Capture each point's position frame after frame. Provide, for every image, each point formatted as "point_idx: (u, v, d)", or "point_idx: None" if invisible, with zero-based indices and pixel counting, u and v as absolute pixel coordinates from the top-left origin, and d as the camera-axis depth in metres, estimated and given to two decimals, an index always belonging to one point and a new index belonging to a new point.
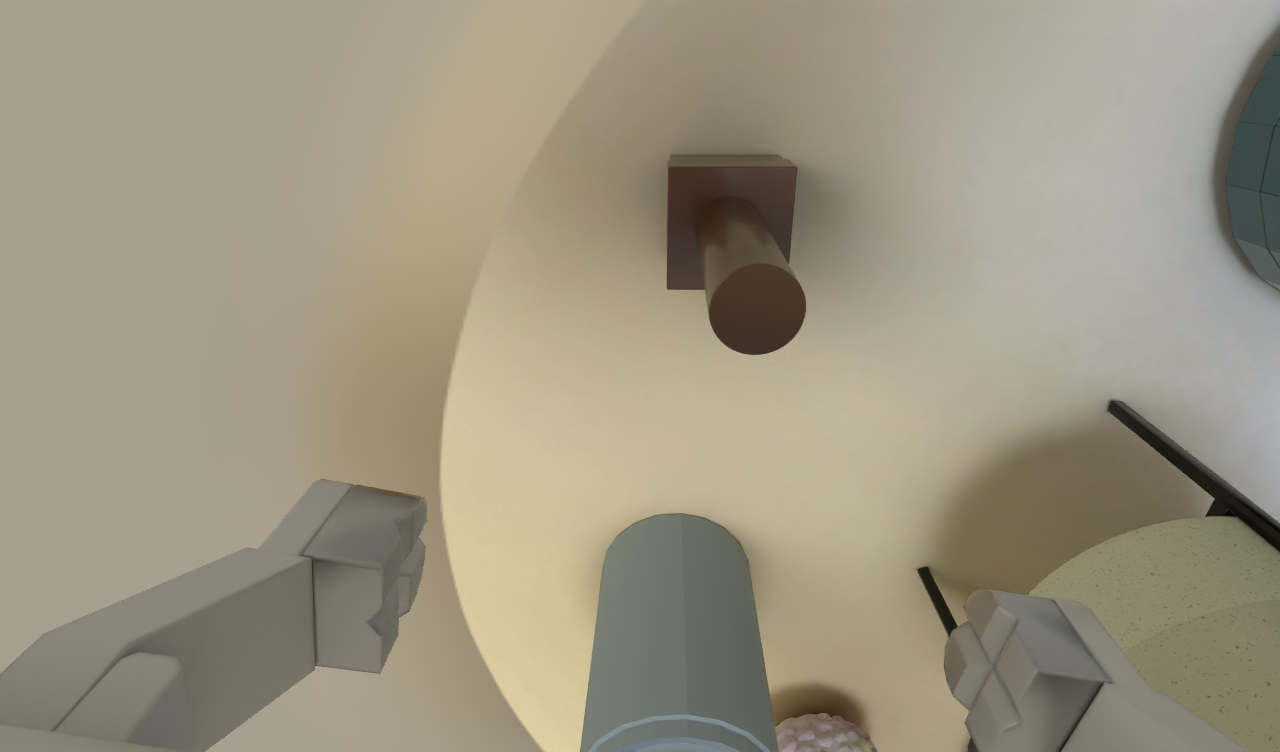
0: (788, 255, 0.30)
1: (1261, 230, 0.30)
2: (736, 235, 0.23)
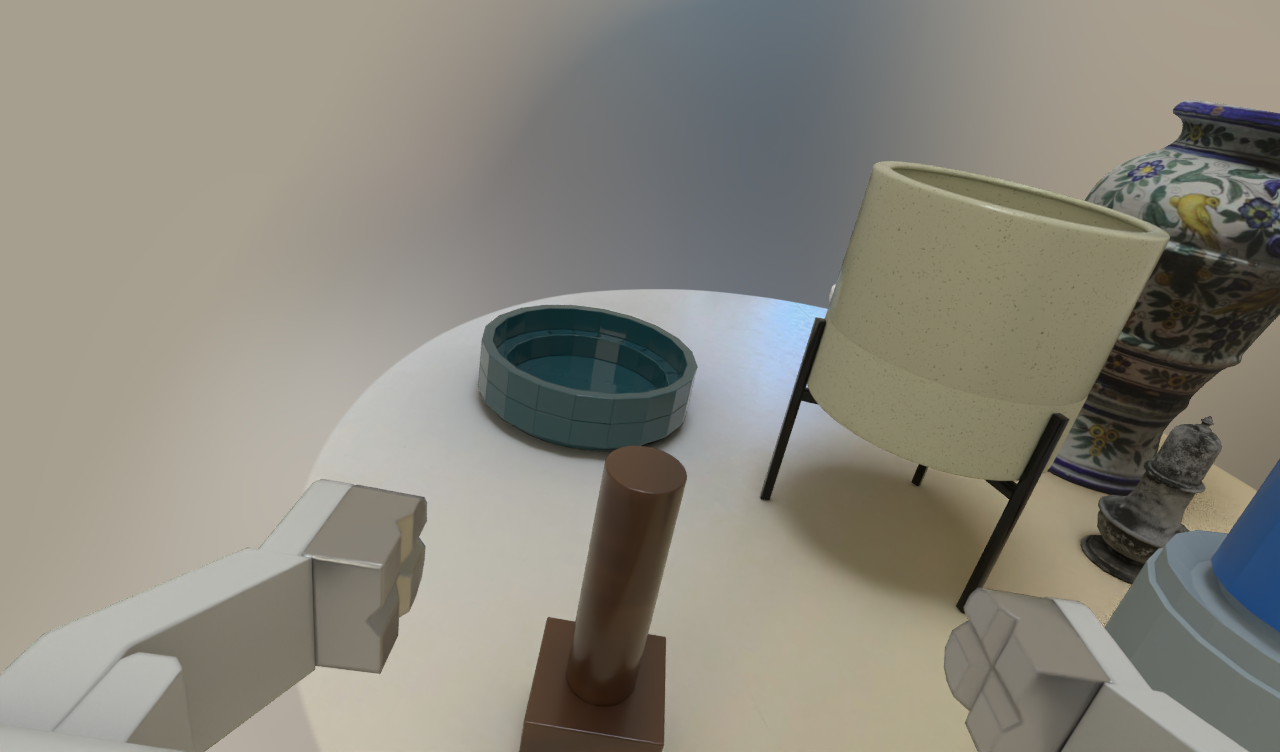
0: None
1: (633, 425, 0.49)
2: (590, 549, 0.25)
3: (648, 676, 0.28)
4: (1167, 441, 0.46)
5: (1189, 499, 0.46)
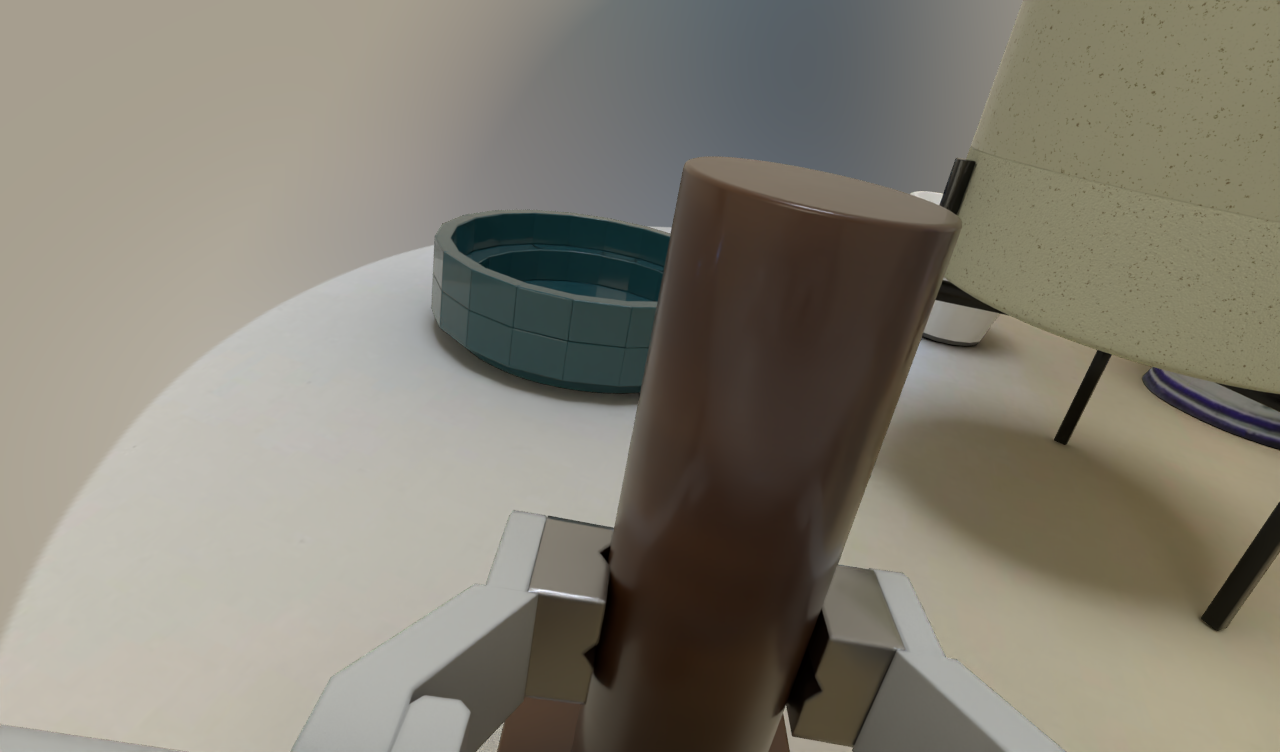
0: None
1: None
2: (630, 473, 0.08)
3: None
4: None
5: None
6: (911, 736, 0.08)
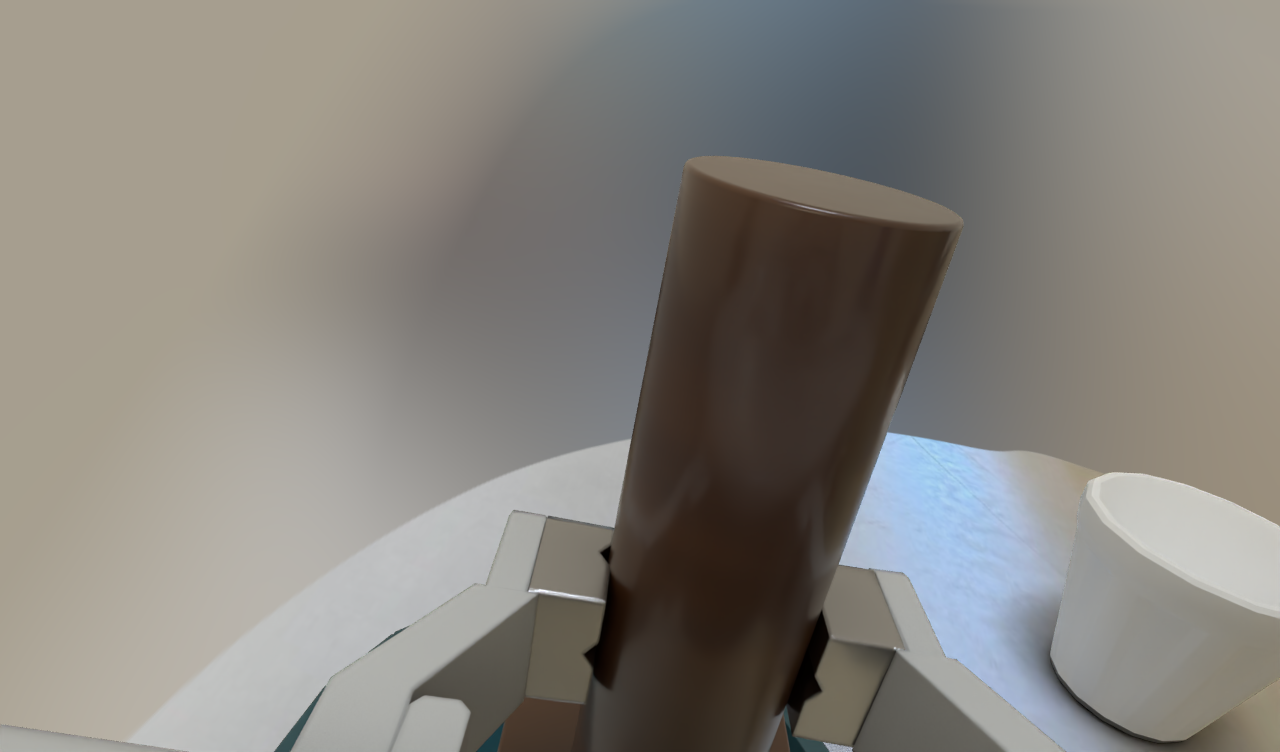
0: None
1: None
2: (630, 473, 0.08)
3: None
4: None
5: None
6: (911, 736, 0.08)
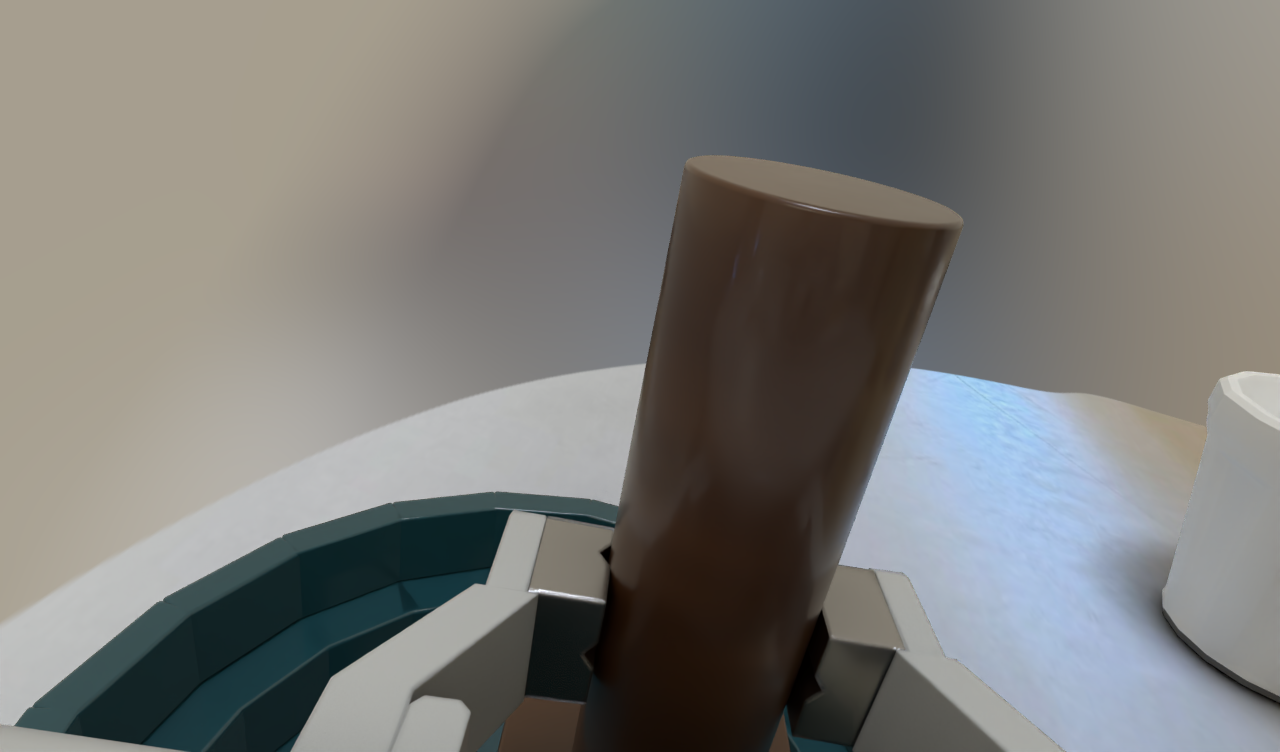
0: None
1: None
2: (630, 472, 0.08)
3: None
4: None
5: None
6: (911, 736, 0.08)
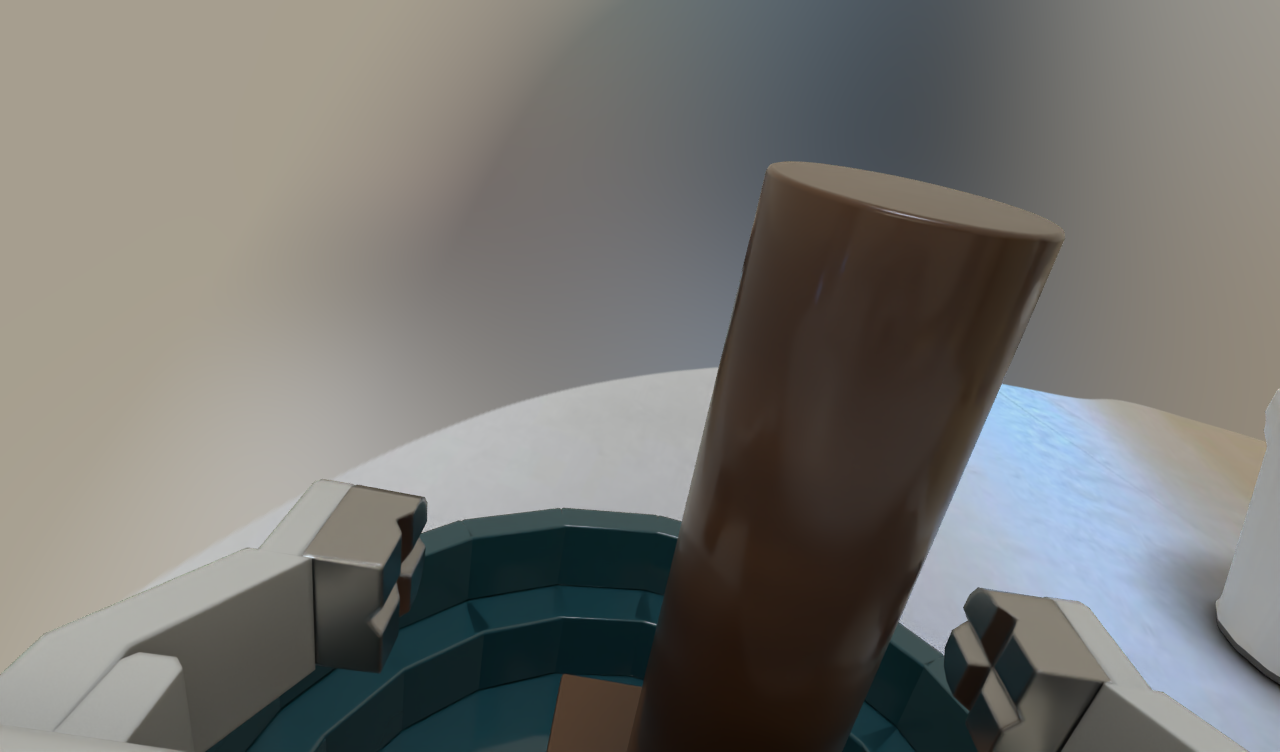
0: None
1: None
2: (700, 488, 0.08)
3: None
4: None
5: None
6: None
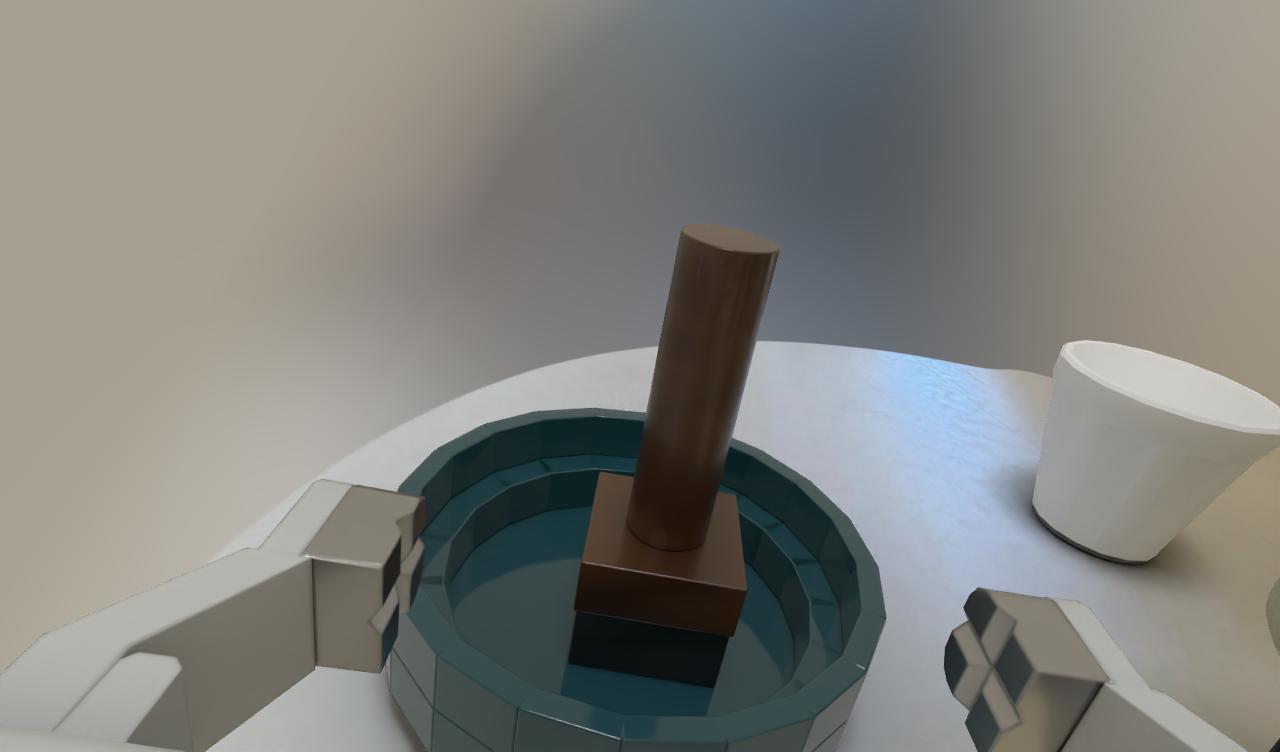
0: None
1: None
2: (660, 347, 0.21)
3: (721, 528, 0.24)
4: None
5: None
6: None
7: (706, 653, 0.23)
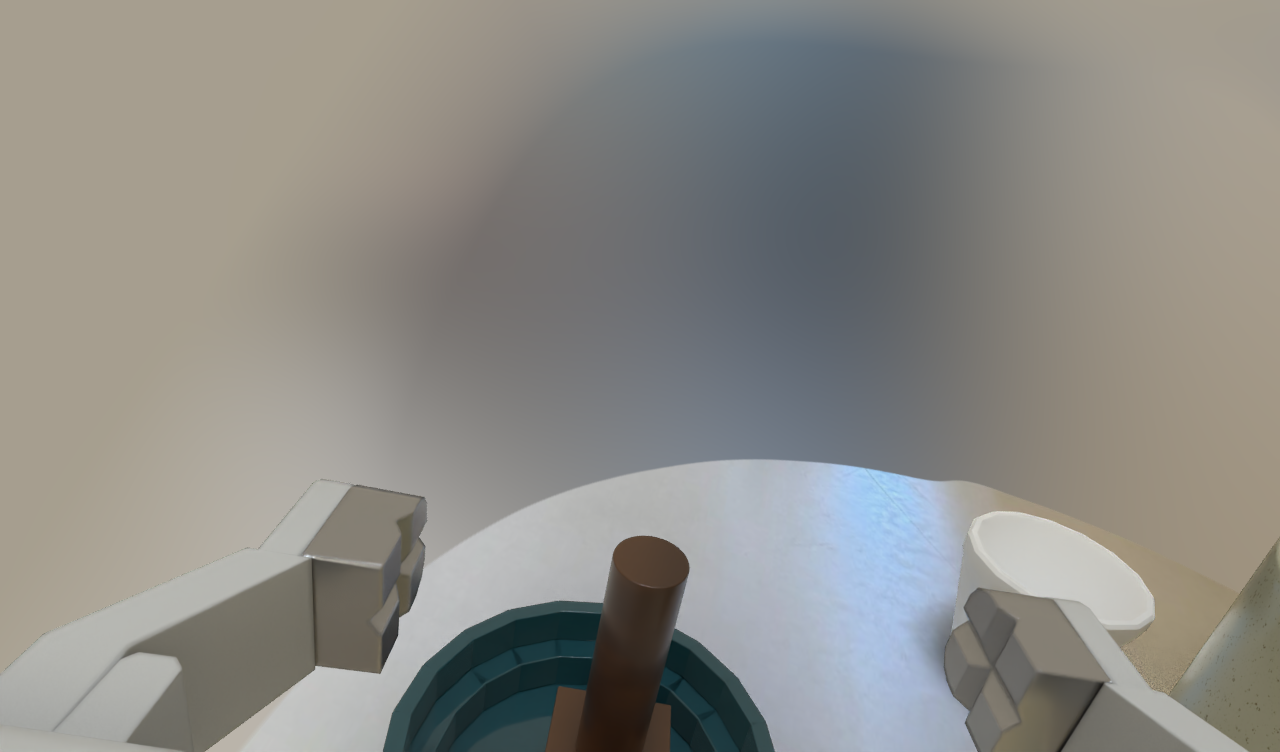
0: None
1: None
2: (599, 633, 0.26)
3: (654, 746, 0.30)
4: None
5: None
6: None
7: None
